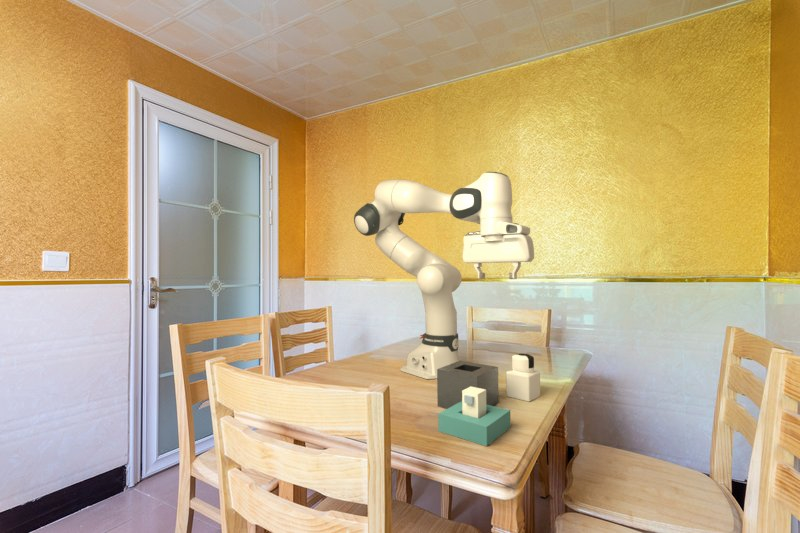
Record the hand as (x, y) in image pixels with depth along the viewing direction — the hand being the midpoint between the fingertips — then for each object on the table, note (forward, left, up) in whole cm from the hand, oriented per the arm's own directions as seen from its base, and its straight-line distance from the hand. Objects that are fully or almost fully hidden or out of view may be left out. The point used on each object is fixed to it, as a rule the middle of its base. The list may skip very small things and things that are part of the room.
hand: (496, 279), depth 106 cm
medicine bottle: (+4, +8, -34) cm, 35 cm away
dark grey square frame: (-5, -8, -34) cm, 35 cm away
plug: (+4, -21, -34) cm, 40 cm away
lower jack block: (+4, -21, -34) cm, 40 cm away
